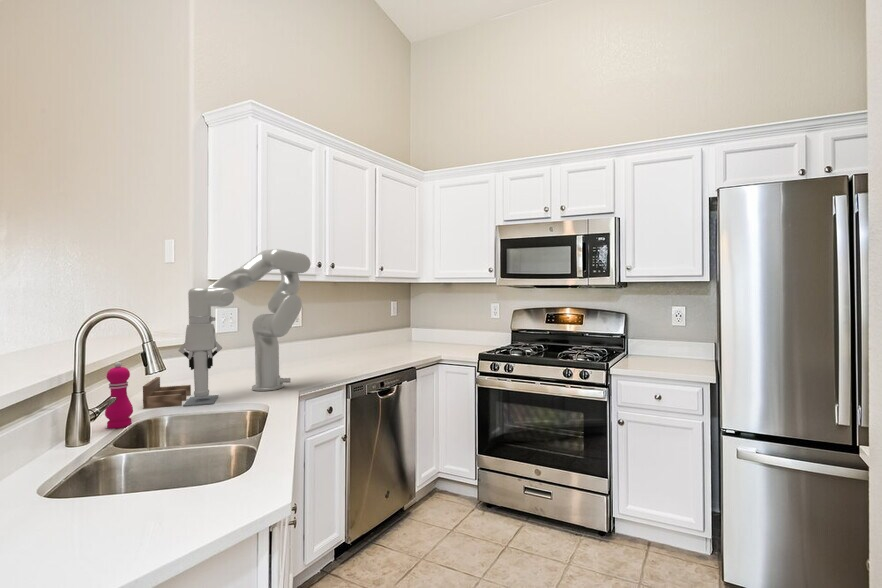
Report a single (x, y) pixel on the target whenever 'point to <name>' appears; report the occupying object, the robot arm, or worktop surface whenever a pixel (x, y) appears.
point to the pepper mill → (119, 398)
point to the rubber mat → (201, 400)
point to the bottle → (200, 373)
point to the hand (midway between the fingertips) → (201, 368)
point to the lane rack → (164, 394)
